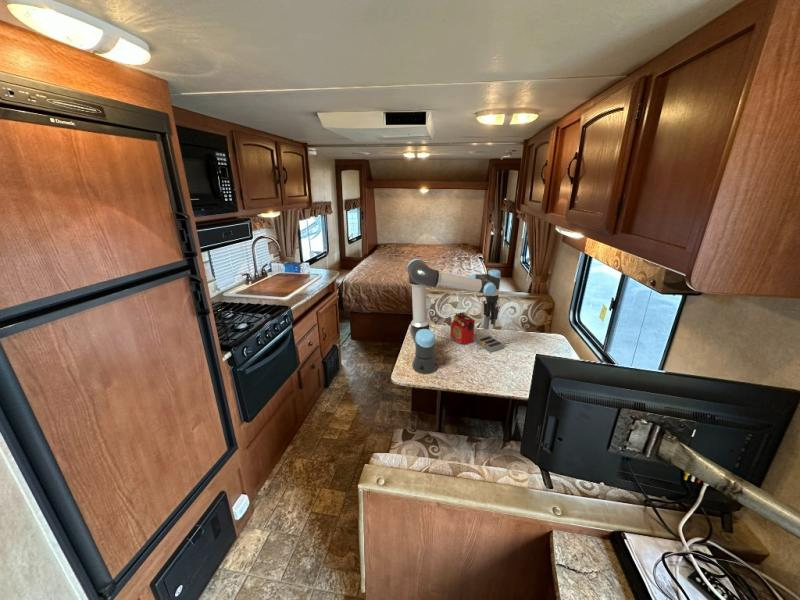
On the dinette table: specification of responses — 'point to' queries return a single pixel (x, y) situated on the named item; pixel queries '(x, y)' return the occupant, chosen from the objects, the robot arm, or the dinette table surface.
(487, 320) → the panel
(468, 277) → the robot arm
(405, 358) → the dinette table surface
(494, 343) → the rack
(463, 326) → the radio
